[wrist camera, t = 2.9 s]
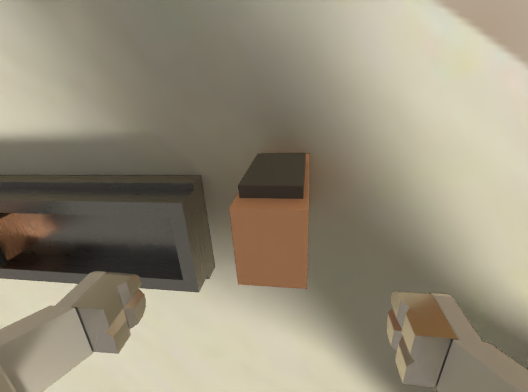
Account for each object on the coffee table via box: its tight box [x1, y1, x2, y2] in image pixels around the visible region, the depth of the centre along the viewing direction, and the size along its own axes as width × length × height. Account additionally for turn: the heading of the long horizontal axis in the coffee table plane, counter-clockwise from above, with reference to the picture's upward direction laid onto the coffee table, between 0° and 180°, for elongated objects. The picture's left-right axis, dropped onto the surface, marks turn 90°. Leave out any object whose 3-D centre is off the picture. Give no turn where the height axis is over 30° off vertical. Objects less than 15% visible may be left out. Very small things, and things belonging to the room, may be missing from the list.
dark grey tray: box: [0, 175, 215, 292], centre depth 19 cm, size 20×8×10 cm, turn 94°
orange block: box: [229, 153, 309, 289], centre depth 16 cm, size 5×3×8 cm
